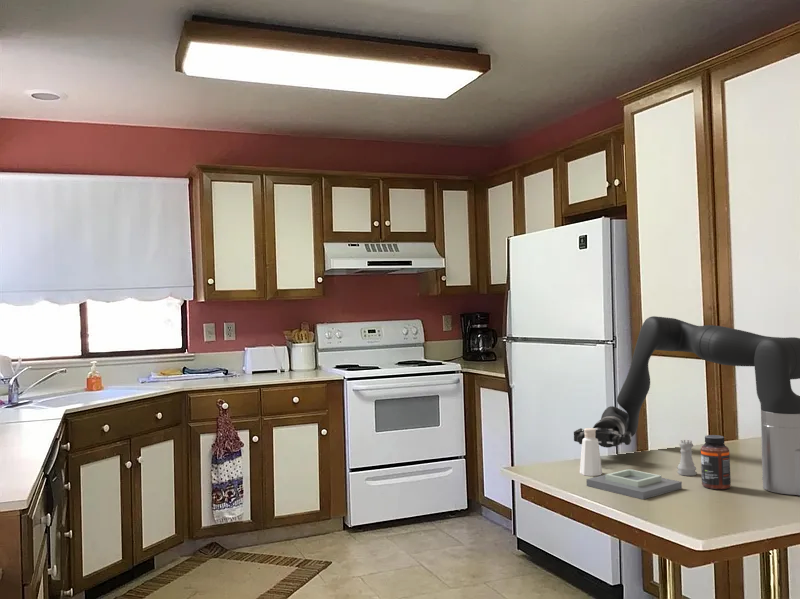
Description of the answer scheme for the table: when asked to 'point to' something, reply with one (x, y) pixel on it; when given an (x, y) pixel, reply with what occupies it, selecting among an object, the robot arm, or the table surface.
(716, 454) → the supplement bottle
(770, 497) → the table surface
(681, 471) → the rook chess piece
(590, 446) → the pepper shaker
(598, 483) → the baseplate
